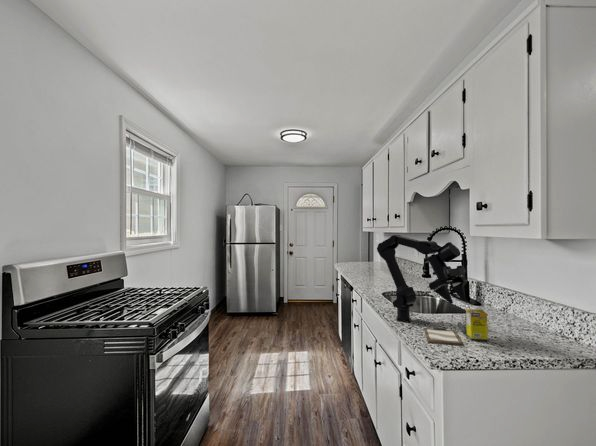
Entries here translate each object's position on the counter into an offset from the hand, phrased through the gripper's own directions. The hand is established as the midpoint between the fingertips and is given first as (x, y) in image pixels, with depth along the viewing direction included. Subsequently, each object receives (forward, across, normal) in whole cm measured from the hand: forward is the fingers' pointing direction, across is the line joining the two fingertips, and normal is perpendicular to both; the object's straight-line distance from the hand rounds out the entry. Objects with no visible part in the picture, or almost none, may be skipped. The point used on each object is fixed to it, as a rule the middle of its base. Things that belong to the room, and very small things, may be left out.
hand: (458, 302), depth 132 cm
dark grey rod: (+10, +9, +11) cm, 17 cm away
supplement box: (+15, +3, +3) cm, 15 cm away
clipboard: (+10, -7, +10) cm, 16 cm away
